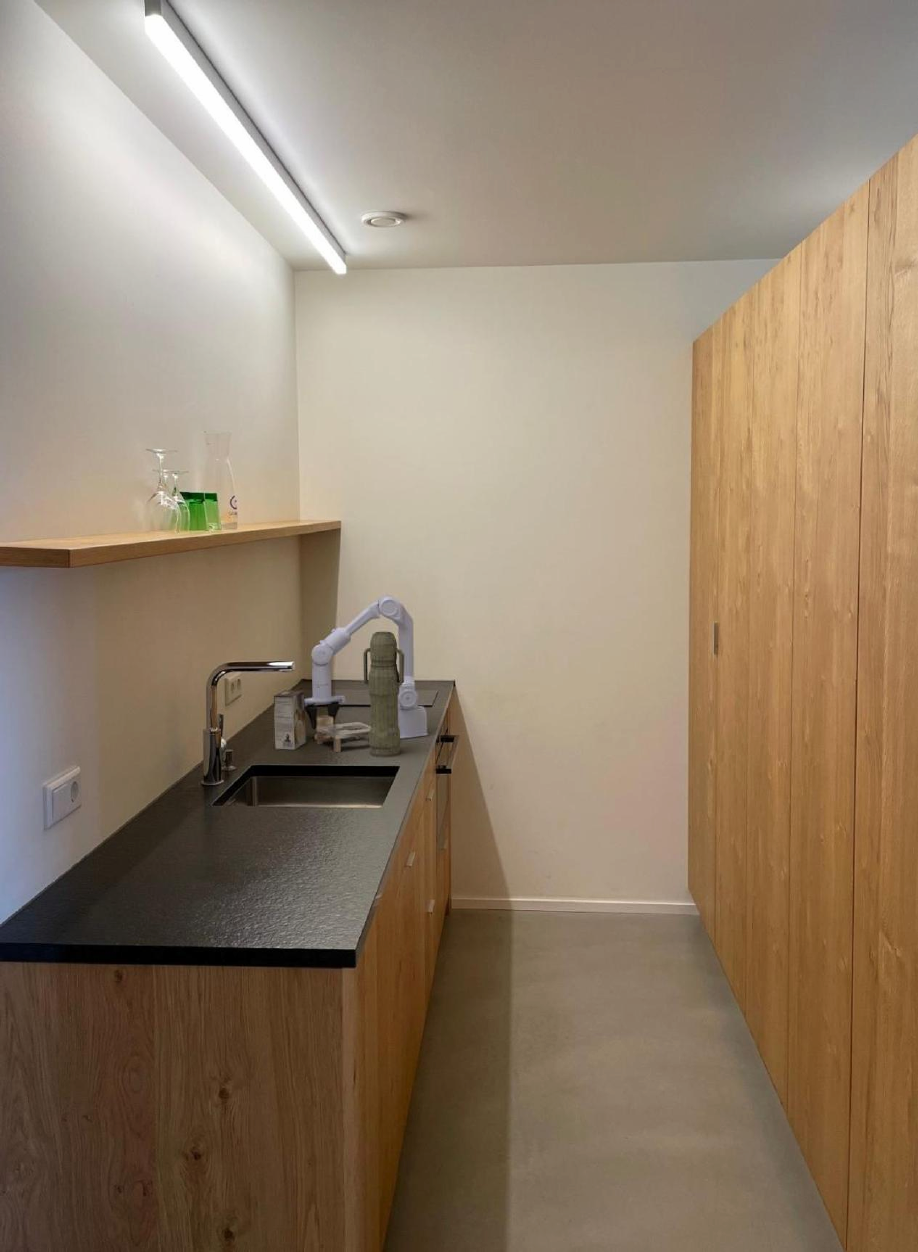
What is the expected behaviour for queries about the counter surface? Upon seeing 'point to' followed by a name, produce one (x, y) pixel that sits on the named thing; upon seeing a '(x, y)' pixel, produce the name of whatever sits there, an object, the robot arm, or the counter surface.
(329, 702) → the robot arm
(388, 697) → the thermos
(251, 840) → the counter surface
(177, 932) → the counter surface
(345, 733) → the keyhole stand
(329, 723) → the peg
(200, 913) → the counter surface
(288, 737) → the coffee box
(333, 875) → the counter surface
